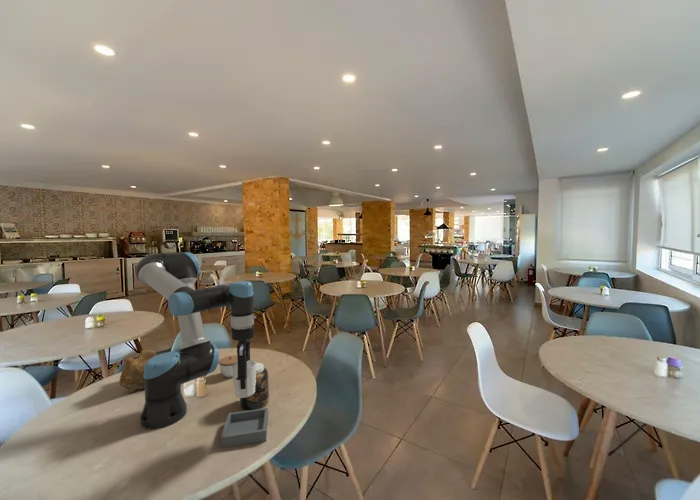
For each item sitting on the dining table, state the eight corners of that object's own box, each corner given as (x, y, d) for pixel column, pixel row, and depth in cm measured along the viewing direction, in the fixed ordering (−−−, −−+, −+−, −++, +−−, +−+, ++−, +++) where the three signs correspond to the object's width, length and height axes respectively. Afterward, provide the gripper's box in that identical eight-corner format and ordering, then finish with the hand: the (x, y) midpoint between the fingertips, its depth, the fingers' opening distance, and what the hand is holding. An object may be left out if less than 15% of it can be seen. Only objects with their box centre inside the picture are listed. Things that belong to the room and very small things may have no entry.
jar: (233, 407, 121) (231, 370, 121) (252, 393, 132) (250, 359, 132) (257, 412, 117) (256, 374, 117) (275, 397, 128) (273, 362, 128)
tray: (221, 448, 98) (221, 437, 98) (229, 422, 111) (228, 413, 111) (266, 440, 101) (265, 430, 101) (268, 416, 114) (268, 407, 114)
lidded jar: (247, 372, 153) (246, 354, 152) (228, 381, 144) (227, 362, 143) (233, 368, 158) (232, 350, 158) (214, 376, 149) (214, 357, 149)
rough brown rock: (155, 397, 132) (157, 363, 132) (112, 398, 129) (114, 363, 129) (175, 375, 155) (176, 346, 155) (139, 376, 152) (140, 346, 152)
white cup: (249, 399, 101) (248, 370, 100) (228, 397, 102) (227, 368, 102) (261, 388, 108) (260, 360, 108) (241, 386, 110) (240, 359, 110)
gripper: (251, 334, 95) (253, 405, 96) (256, 318, 115) (258, 376, 116) (225, 336, 94) (228, 408, 95) (236, 319, 114) (238, 379, 115)
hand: (245, 391), depth 105 cm, fingers closed on white cup, 7 cm apart
